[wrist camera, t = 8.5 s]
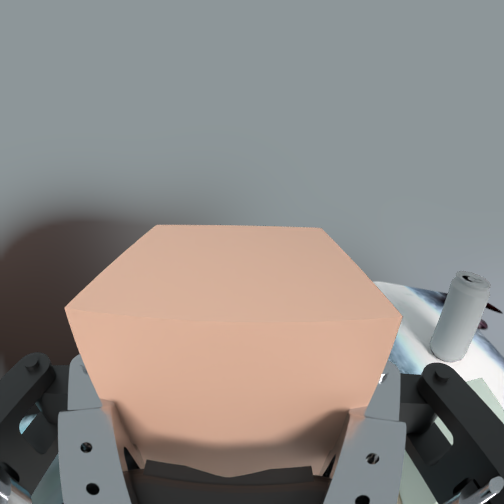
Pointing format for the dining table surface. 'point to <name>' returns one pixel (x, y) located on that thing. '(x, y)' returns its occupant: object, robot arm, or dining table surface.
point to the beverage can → (460, 316)
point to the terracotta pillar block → (234, 344)
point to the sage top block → (412, 484)
